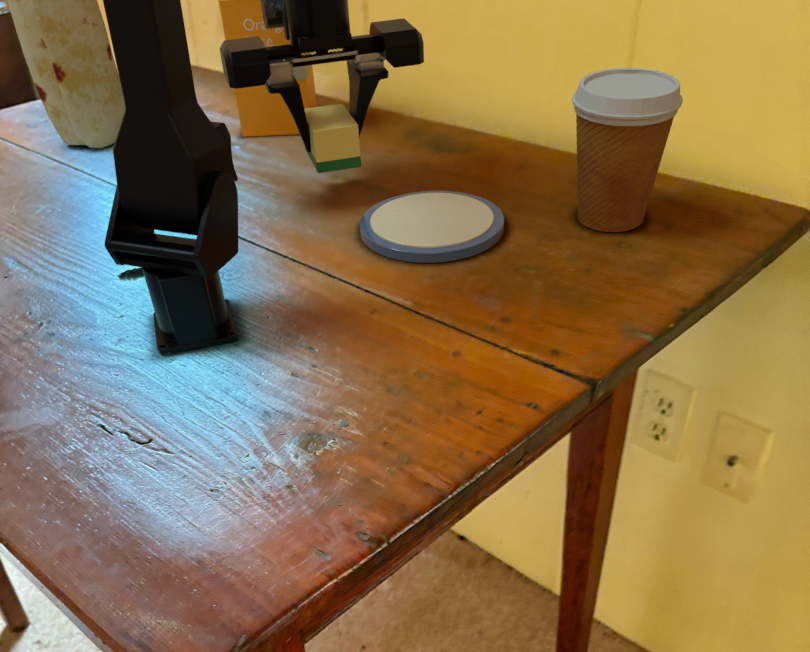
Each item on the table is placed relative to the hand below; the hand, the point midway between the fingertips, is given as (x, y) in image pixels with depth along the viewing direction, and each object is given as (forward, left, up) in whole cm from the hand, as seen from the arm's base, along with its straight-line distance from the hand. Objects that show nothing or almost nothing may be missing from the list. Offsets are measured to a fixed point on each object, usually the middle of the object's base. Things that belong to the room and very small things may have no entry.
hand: (331, 147), depth 82 cm
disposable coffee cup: (-16, -24, -5) cm, 29 cm away
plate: (-12, -7, -5) cm, 15 cm away
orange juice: (+24, +2, -5) cm, 24 cm away
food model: (+27, +25, -5) cm, 37 cm away
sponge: (0, 0, -1) cm, 1 cm away
